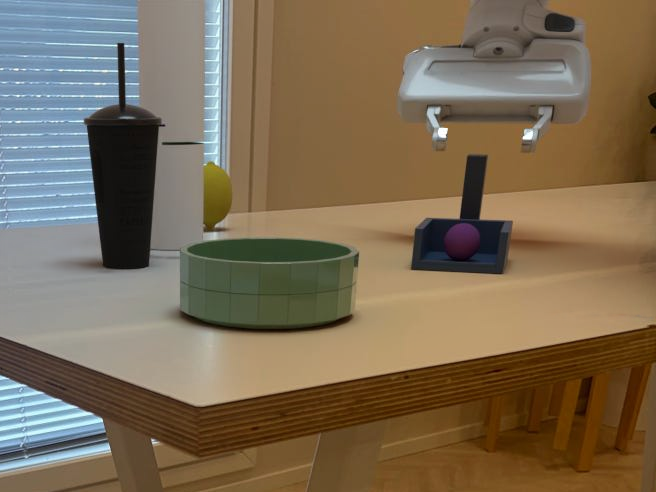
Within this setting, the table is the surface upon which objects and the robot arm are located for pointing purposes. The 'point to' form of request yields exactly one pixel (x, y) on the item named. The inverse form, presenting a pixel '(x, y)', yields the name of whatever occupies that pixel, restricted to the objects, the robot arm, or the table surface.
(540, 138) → the robot arm
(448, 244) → the ball
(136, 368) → the table surface
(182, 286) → the bowl
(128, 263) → the drinking cup
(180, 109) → the cylindrical container
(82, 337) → the table surface
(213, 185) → the lemon
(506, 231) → the scoop
